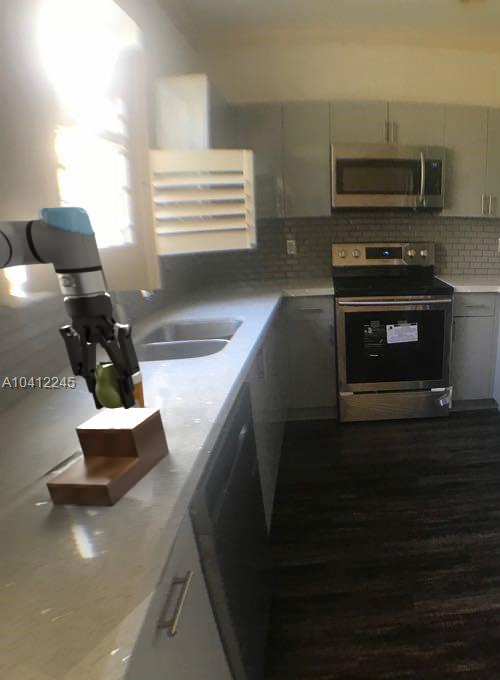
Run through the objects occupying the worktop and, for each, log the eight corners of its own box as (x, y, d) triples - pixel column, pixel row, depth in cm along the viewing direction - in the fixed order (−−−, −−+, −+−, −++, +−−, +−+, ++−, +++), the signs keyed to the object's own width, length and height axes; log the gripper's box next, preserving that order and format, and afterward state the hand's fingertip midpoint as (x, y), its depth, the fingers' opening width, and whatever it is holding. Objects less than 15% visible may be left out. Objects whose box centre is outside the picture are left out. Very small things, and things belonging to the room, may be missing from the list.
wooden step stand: (53, 504, 86) (35, 453, 82) (119, 451, 105) (107, 408, 101) (112, 506, 85) (97, 454, 81) (169, 452, 104) (159, 408, 100)
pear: (118, 401, 98) (106, 357, 94) (137, 403, 96) (125, 358, 93) (95, 411, 93) (81, 365, 90) (114, 414, 91) (102, 367, 88)
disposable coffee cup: (122, 410, 127) (111, 369, 123) (157, 408, 128) (148, 367, 124) (105, 425, 119) (93, 381, 114) (143, 422, 119) (132, 379, 115)
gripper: (25, 299, 84) (61, 414, 92) (119, 297, 82) (147, 414, 90) (56, 291, 91) (87, 399, 99) (143, 290, 89) (167, 399, 97)
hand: (116, 406), depth 95 cm, fingers closed on pear, 5 cm apart
